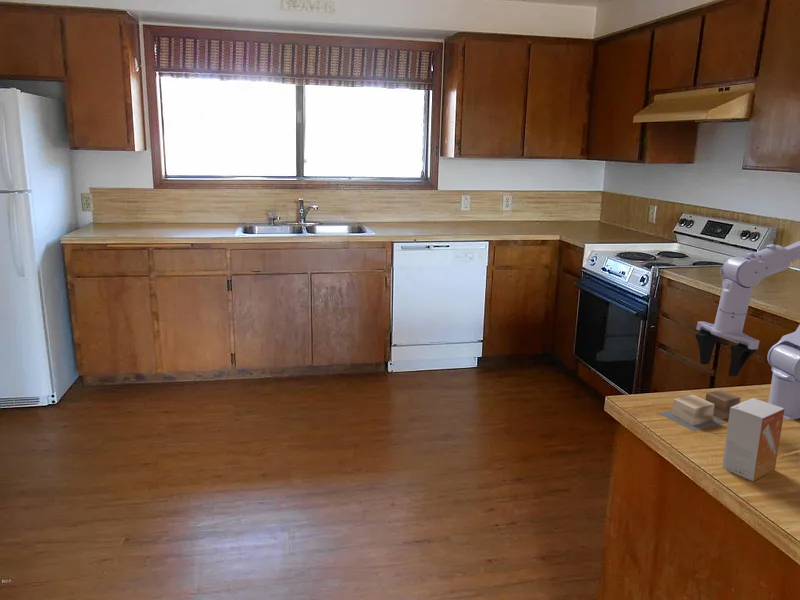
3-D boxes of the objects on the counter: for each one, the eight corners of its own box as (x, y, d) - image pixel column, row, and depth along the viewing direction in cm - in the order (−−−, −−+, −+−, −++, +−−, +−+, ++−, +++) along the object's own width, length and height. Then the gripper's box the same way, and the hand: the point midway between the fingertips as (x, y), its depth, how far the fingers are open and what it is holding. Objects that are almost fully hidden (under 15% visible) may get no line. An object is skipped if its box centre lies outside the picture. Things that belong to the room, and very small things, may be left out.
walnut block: (719, 409, 150) (721, 389, 149) (737, 417, 146) (740, 397, 145) (703, 413, 149) (706, 393, 147) (722, 421, 144) (724, 401, 143)
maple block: (691, 410, 149) (692, 394, 148) (712, 420, 143) (714, 404, 142) (671, 415, 146) (673, 398, 146) (692, 425, 141) (694, 408, 140)
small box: (753, 482, 119) (762, 418, 115) (721, 468, 124) (729, 406, 121) (776, 470, 123) (785, 407, 120) (743, 457, 128) (752, 396, 125)
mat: (690, 407, 151) (690, 405, 151) (726, 424, 143) (726, 422, 142) (658, 414, 148) (658, 413, 148) (693, 432, 139) (693, 430, 139)
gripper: (692, 303, 145) (680, 359, 148) (748, 321, 132) (733, 382, 135) (714, 303, 148) (701, 358, 151) (771, 320, 135) (756, 380, 138)
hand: (718, 369), depth 143 cm, fingers open, 7 cm apart
